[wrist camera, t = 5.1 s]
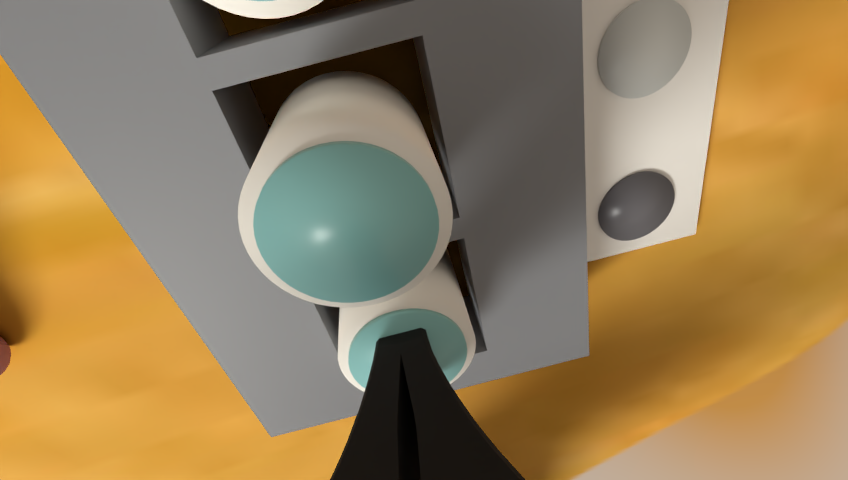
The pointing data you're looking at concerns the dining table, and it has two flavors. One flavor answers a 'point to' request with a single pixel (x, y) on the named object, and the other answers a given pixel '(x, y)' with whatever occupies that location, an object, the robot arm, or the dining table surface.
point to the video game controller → (4, 355)
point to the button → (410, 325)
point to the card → (647, 117)
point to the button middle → (345, 194)
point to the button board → (247, 129)
